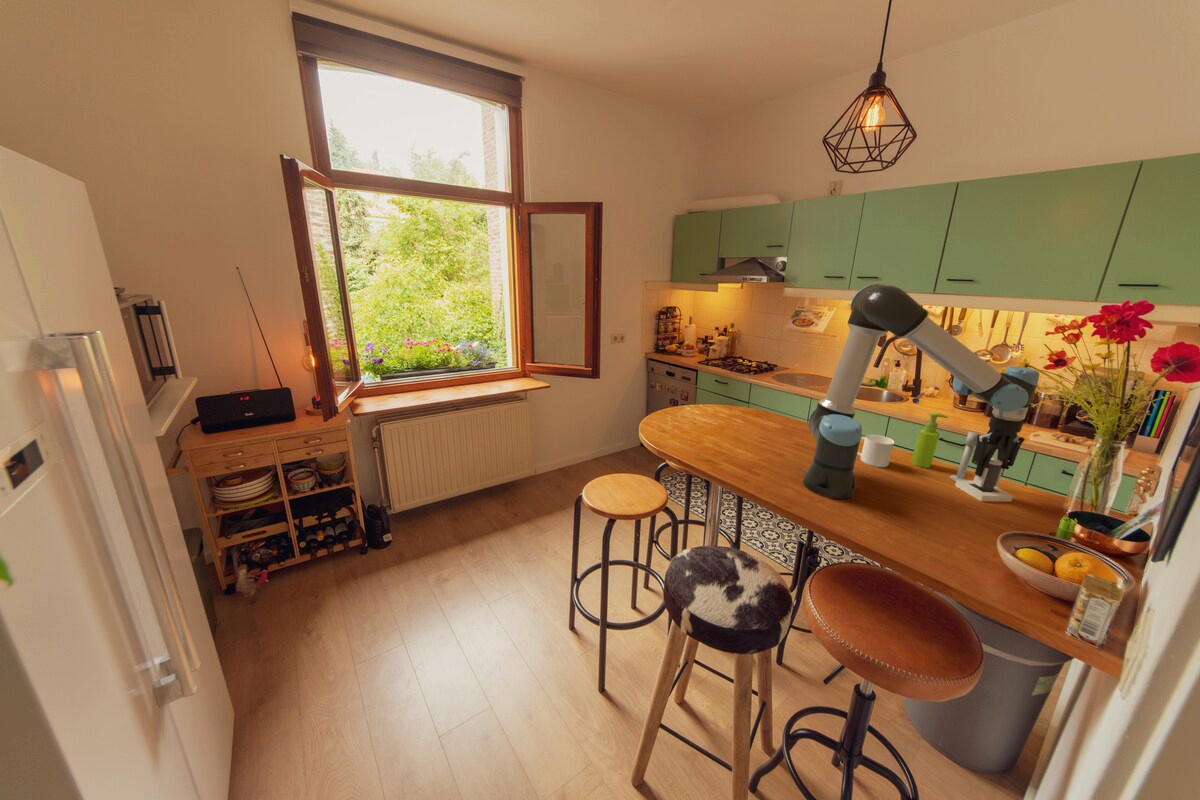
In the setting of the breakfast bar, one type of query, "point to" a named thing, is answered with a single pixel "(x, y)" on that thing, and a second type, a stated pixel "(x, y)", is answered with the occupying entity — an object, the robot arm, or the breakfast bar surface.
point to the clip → (972, 439)
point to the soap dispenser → (926, 443)
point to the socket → (970, 486)
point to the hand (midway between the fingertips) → (985, 484)
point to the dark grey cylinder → (991, 475)
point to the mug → (876, 450)
